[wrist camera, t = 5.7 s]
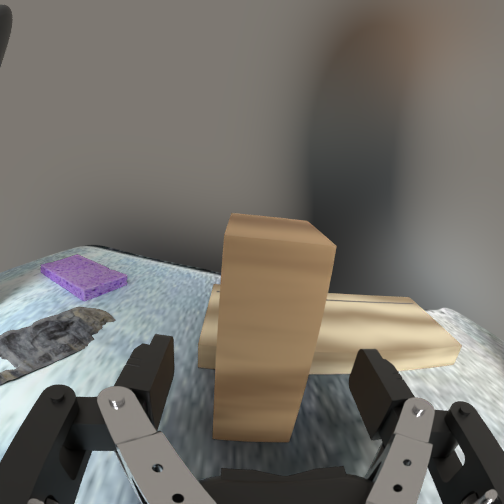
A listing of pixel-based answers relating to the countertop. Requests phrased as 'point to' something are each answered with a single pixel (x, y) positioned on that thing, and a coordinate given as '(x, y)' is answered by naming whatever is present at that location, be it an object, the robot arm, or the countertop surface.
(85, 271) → the sponges
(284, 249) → the block
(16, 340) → the driftwood
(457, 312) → the countertop surface
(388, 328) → the pine board
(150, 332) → the countertop surface
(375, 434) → the robot arm
